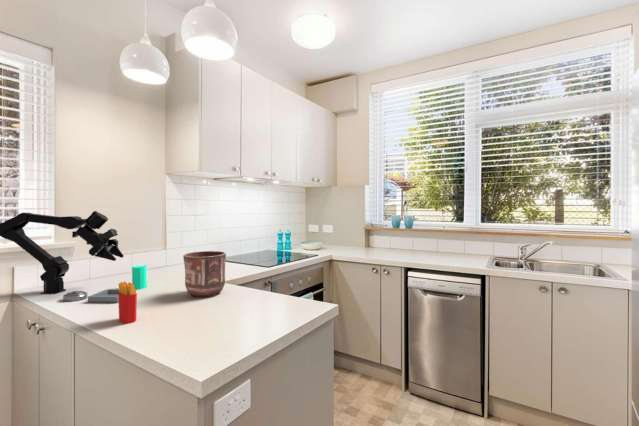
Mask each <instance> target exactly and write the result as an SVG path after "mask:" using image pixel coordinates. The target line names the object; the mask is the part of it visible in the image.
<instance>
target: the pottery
mask: <svg viewBox="0 0 639 426" xmlns="http://www.w3.org/2000/svg"><path fill="white" fill-rule="evenodd" d="M226 260H227V253H226V252H225V251H219V250H218V251H217V250H216V251H215V250H213V251H212V250H205V251H194V252H188V253H185V254H184V255H183V263H184V286H185V289H186V290H187V292H188V294H190V295H191V296H192V297H196V298H208V297H214V296H217V295H219V294H220V293H221V292H222V291H223V289H224V286H225V285H226Z"/></svg>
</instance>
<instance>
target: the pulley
mask: <svg viewBox="0 0 639 426" xmlns="http://www.w3.org/2000/svg"><path fill="white" fill-rule="evenodd" d="M62 299H63V302H67V303H70V302H79V301H83V300H86V299H88V292H87V291H84V290H74V291H70V292H67V293H65V294H63V296H62Z"/></svg>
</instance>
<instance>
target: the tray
mask: <svg viewBox="0 0 639 426" xmlns="http://www.w3.org/2000/svg"><path fill="white" fill-rule="evenodd" d="M118 292H119V288H106V289H104V290H101V291H98V292H96V293H94V294H91V295H89V296H88V295H87V303H88V304H93V303H94V304H95V303H97V304H119V300H118Z"/></svg>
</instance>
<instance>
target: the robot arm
mask: <svg viewBox="0 0 639 426" xmlns="http://www.w3.org/2000/svg"><path fill="white" fill-rule="evenodd" d="M108 221H109V218H108V217H107V216H106V215H105V214H102V213H100V212H98V211H97V210H94V211H93V212H91V214H90V215H89V217H87V218H82V217H81V216H79V215H78V216H77V215H76V216H69V215H67V216H57V215H49V214H48V215H47V214H41V213H31V212H20V213H19V214H17V215H15V216H13V217H12V218H9V219H8V220H5V221H3V222H0V237H1V238H4V239H5V240H7V241H11V242H14V243H15V244H17V246H19V247H20V248H22V250H24V251H25V252H26V253H28V254H29V255H30V256H32V257H33V258H34V259H35V260H36V261H37V262H39V263H40V264H41V265H42V268H43V269H42V270H43V271H44V272H43V273H42V274H41V275H40V276H39V277H40V280H41V282H43V291H41V292H40V295H42V294H43V295H45V294H46V295H48V294H49V295H53V294H54V295H55V294H58V293H62V292H64V291H66V289H65V287H64V285H65V284H64V283H65V282H64V278H63V277H65V275H66V273H67V272H69V269H70V264H69V263H68V262H69V261H68V260H65V259H64V258H63V256H61V255H59V256H53V255H51V253H49V252H48V251H47V250H45V249H44V248H42V246H41V245H39V244H37V242H35V241H34V240H32V239H31V238H30V237H28V235H26V232H25V230H24V227H26V226H27V225H28V224H29V223H36V224H44V225H53V226H54V225H55V226H56V227H59V228H61V229H62V228H63V229H65V230H74V231H71V233H72V234H71V238H72V239H74V238H77V237H79V238H81V239H82V240H83V241H85V244H86V245H89V246H91V248H90V249H89V250H88V254H89V255H90V256H92V257H97V258H101V259H105V260H109V261H112V262H113V261H114V262H115V261H117V258H116V257H119V258H121V259H123V258H124V257H125V256H124V254H123V253H122V251H121V250H120V248H119V240H118V239H116V238H113V237H116V236H118V235H119V234H118V231H117V230H116V229H114V228H110V229H107V230H106V231H105V232H103V233H102V232H97V231H96V229H97V230H100V229H101V228H102V227H103V226H104V225H105V224H106V223H107V222H108ZM75 229H76V230H75Z"/></svg>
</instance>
